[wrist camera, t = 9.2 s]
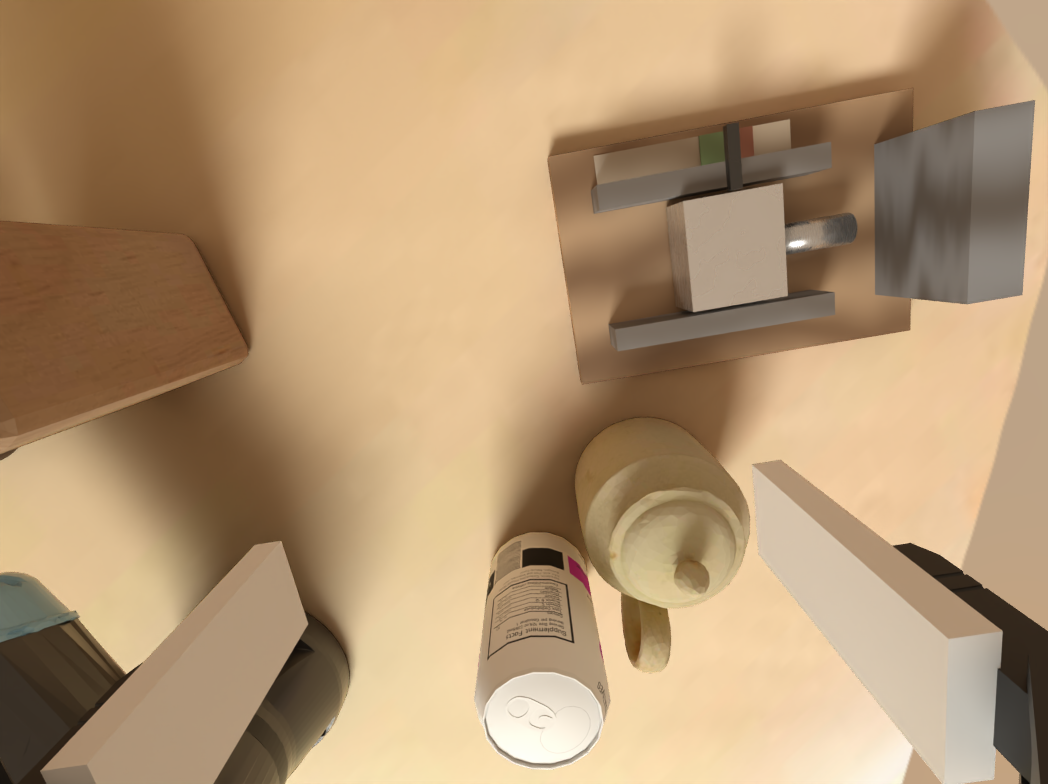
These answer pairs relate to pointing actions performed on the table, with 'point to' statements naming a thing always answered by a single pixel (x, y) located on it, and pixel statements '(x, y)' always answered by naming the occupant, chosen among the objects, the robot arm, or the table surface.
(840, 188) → the gauge bed
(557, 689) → the supplement can
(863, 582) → the robot arm
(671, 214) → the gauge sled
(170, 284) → the block
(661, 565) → the sugar bowl
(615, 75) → the table surface
